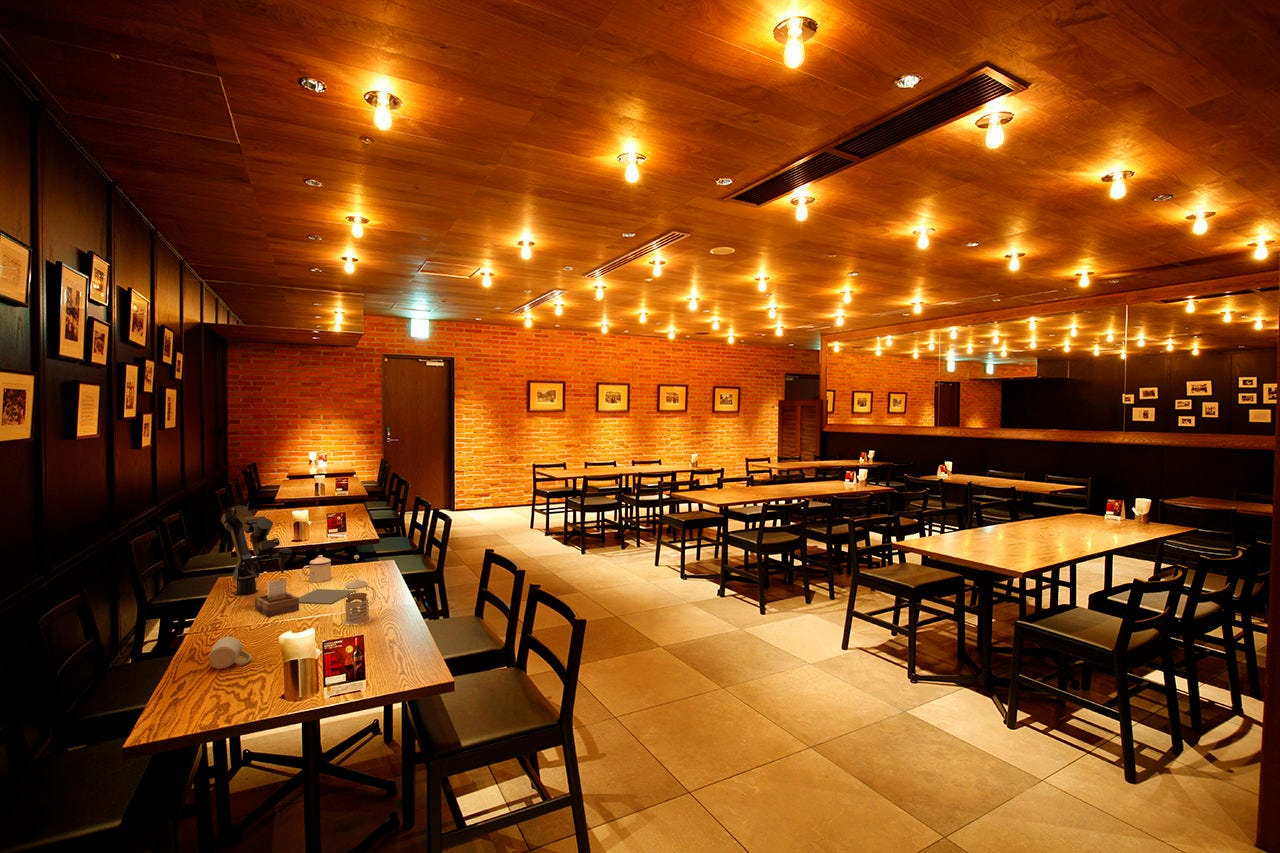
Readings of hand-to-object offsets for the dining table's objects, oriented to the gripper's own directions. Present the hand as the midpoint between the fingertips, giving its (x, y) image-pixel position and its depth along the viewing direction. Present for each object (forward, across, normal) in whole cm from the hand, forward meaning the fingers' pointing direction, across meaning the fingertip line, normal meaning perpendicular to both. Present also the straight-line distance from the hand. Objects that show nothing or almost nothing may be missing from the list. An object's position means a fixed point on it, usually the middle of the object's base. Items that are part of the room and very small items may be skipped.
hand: (270, 575), depth 244 cm
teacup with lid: (-9, +28, +28) cm, 40 cm away
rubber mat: (+11, +19, +7) cm, 23 cm away
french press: (+40, +16, -22) cm, 48 cm away
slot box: (+14, 0, +4) cm, 15 cm away
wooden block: (+12, 0, +2) cm, 12 cm away
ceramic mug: (+47, -29, -28) cm, 62 cm away
